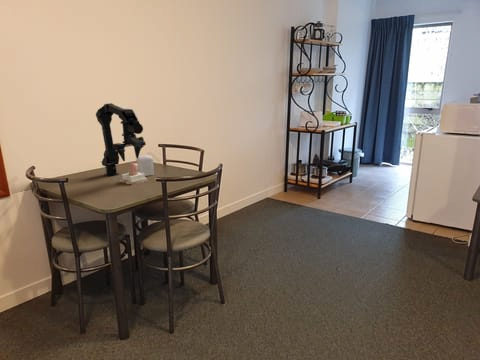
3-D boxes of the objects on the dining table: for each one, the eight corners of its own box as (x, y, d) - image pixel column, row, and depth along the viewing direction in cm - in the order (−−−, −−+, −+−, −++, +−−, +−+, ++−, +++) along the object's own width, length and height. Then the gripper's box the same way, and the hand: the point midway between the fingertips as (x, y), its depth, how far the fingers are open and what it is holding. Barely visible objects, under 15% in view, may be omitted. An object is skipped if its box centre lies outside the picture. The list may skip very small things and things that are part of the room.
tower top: (122, 178, 208) (121, 174, 207) (135, 175, 214) (135, 171, 214) (131, 181, 202) (131, 177, 202) (144, 178, 209) (144, 173, 208)
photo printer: (152, 173, 226) (151, 154, 223) (155, 175, 223) (153, 155, 219) (136, 176, 221) (134, 156, 217) (138, 177, 217) (137, 157, 214)
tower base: (120, 183, 208) (119, 179, 207) (135, 179, 216) (135, 175, 216) (132, 186, 202) (132, 182, 201) (147, 182, 210) (147, 177, 209)
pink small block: (126, 173, 207) (126, 163, 205) (133, 172, 211) (133, 162, 209) (132, 175, 204) (132, 165, 202) (139, 174, 208) (139, 164, 207)
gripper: (123, 135, 190) (126, 164, 194) (151, 131, 204) (152, 158, 208) (110, 133, 196) (113, 161, 200) (138, 130, 210) (140, 156, 215)
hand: (130, 159), depth 206 cm, fingers open, 9 cm apart
